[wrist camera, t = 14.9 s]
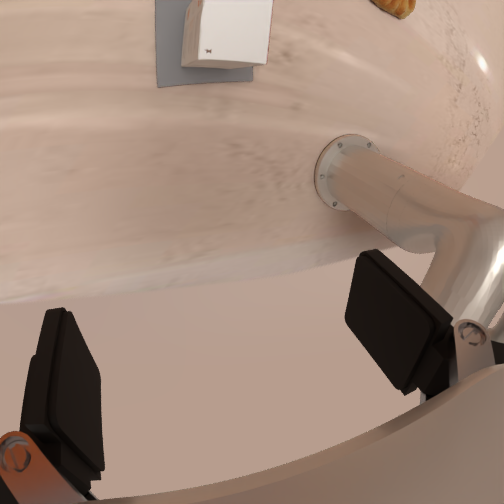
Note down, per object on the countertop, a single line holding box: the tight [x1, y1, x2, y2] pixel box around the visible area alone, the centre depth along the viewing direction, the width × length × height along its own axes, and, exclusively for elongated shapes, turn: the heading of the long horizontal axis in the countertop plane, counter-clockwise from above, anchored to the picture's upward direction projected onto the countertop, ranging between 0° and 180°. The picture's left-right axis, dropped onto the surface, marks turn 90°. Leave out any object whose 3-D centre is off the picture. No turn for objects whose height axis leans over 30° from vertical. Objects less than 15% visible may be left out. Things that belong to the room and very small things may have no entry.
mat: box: [155, 0, 253, 87], centre depth 33 cm, size 12×12×1 cm
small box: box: [181, 0, 274, 69], centre depth 28 cm, size 8×6×13 cm
